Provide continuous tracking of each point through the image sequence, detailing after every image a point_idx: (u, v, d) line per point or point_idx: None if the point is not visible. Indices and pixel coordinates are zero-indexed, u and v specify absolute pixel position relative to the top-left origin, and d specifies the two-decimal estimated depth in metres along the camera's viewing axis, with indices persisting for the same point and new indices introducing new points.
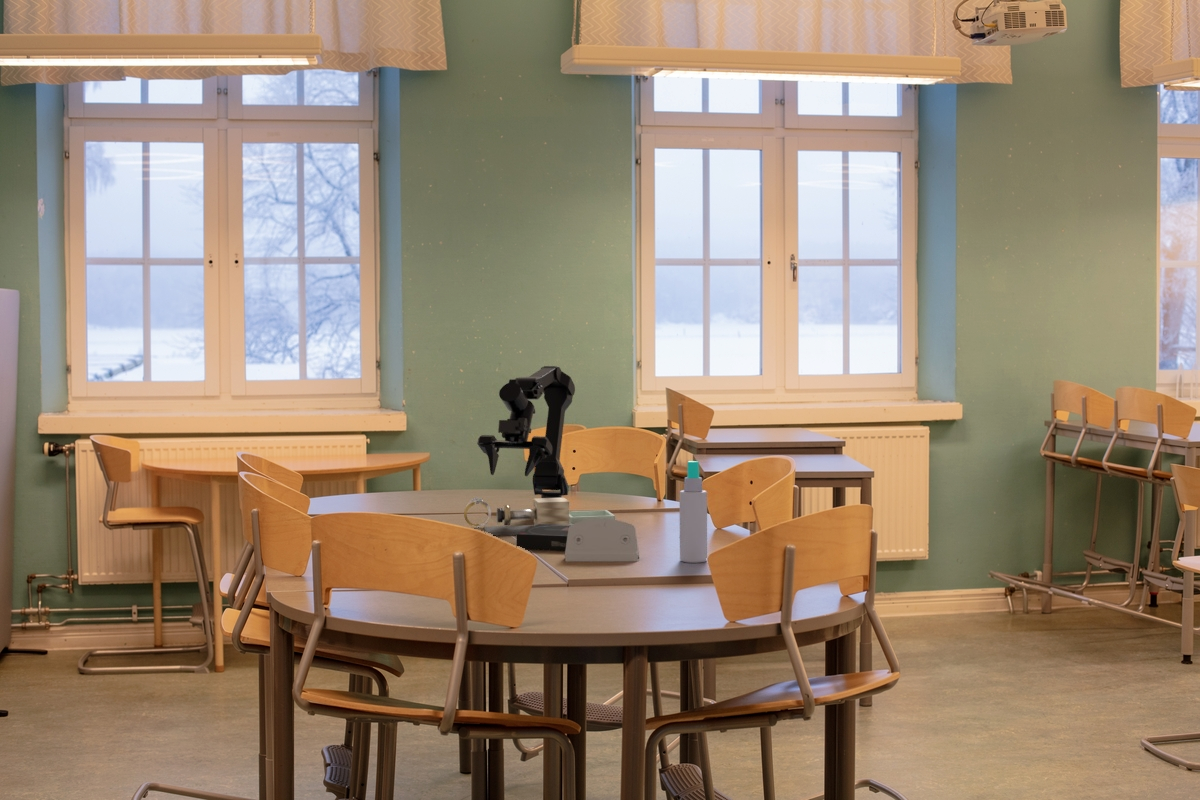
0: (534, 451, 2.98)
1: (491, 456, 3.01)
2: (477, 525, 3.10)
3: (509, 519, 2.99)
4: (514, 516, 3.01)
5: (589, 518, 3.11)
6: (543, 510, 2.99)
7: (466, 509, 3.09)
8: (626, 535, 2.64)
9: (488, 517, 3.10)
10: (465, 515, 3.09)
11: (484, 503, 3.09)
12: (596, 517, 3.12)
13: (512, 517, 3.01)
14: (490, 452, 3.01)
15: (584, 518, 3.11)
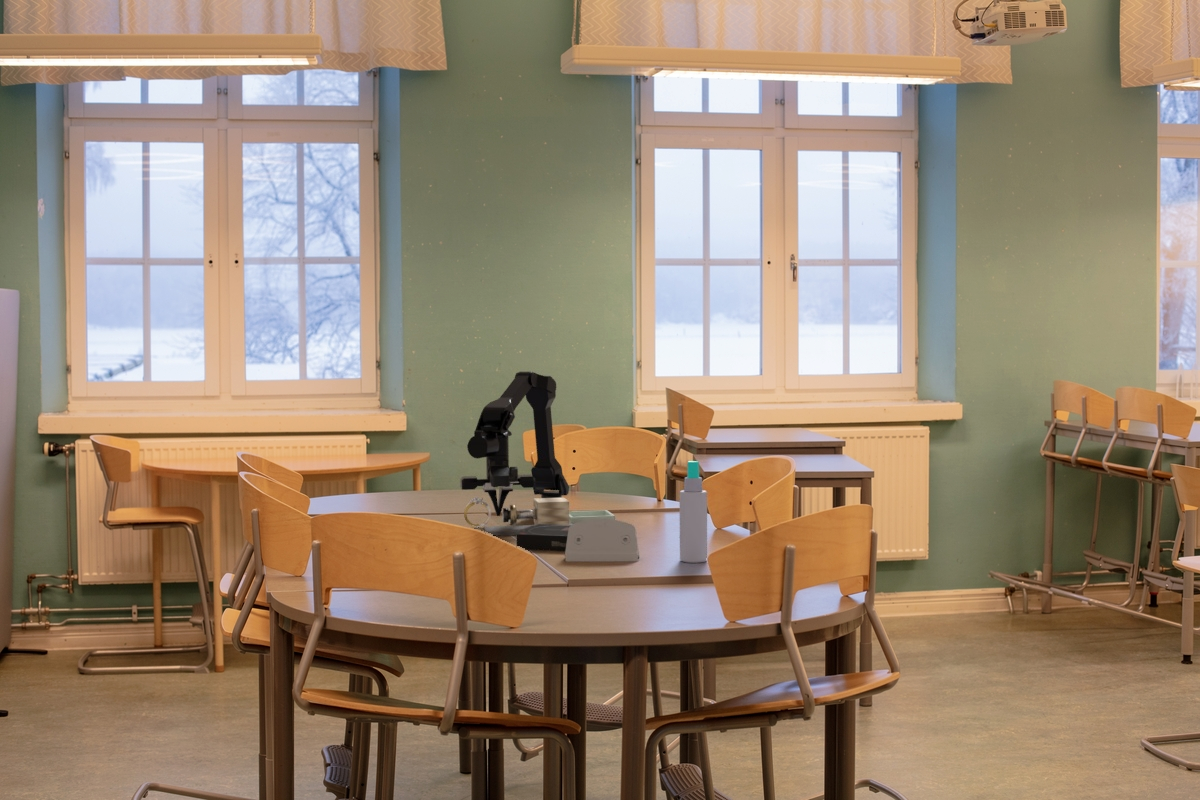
0: (506, 493, 2.99)
1: (494, 498, 3.00)
2: (477, 525, 3.10)
3: (515, 519, 3.00)
4: (520, 516, 3.01)
5: (589, 518, 3.11)
6: (543, 510, 2.99)
7: (466, 509, 3.09)
8: (626, 535, 2.63)
9: (488, 517, 3.10)
10: (465, 515, 3.09)
11: (484, 503, 3.09)
12: (596, 517, 3.12)
13: (518, 517, 3.01)
14: (494, 495, 2.99)
15: (584, 518, 3.11)
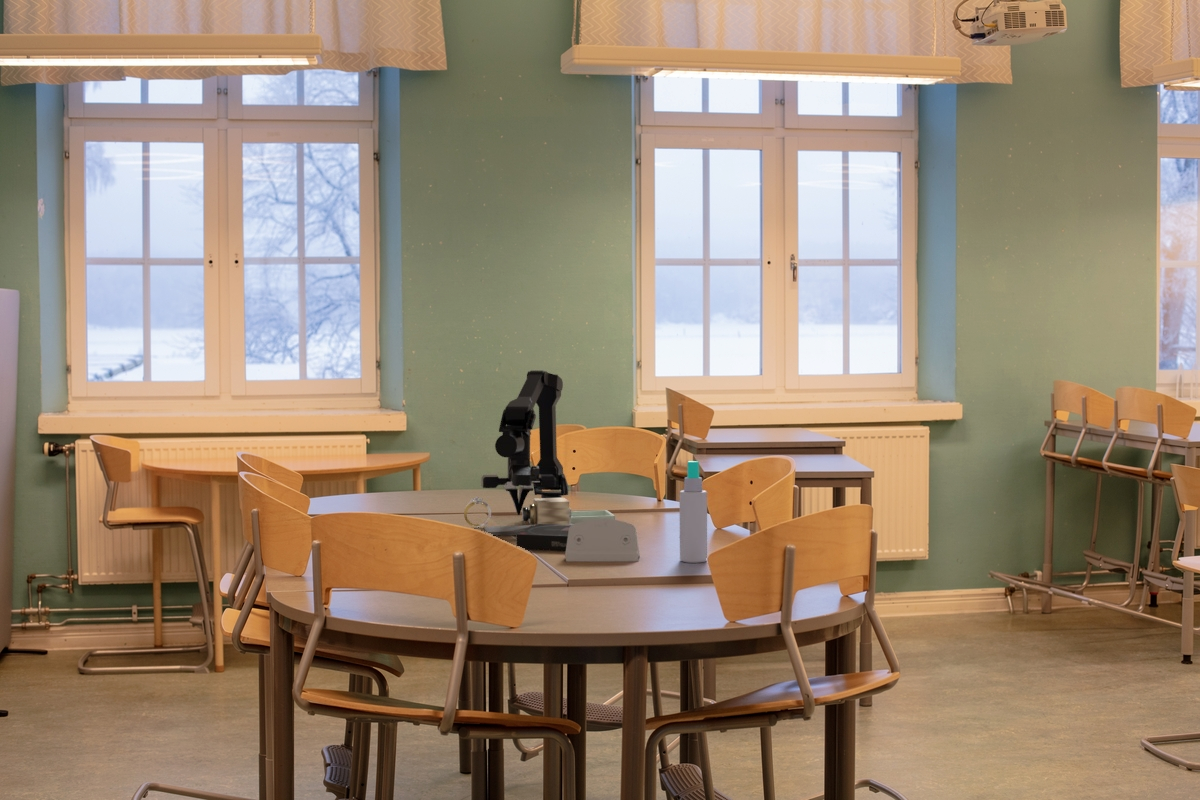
0: (526, 492, 3.00)
1: (515, 497, 3.01)
2: (477, 525, 3.10)
3: (535, 518, 3.00)
4: None
5: (589, 518, 3.11)
6: (543, 510, 2.99)
7: (466, 509, 3.09)
8: (626, 535, 2.63)
9: (488, 517, 3.10)
10: (465, 515, 3.09)
11: (484, 503, 3.09)
12: (596, 517, 3.12)
13: None
14: (515, 494, 3.00)
15: (584, 518, 3.11)
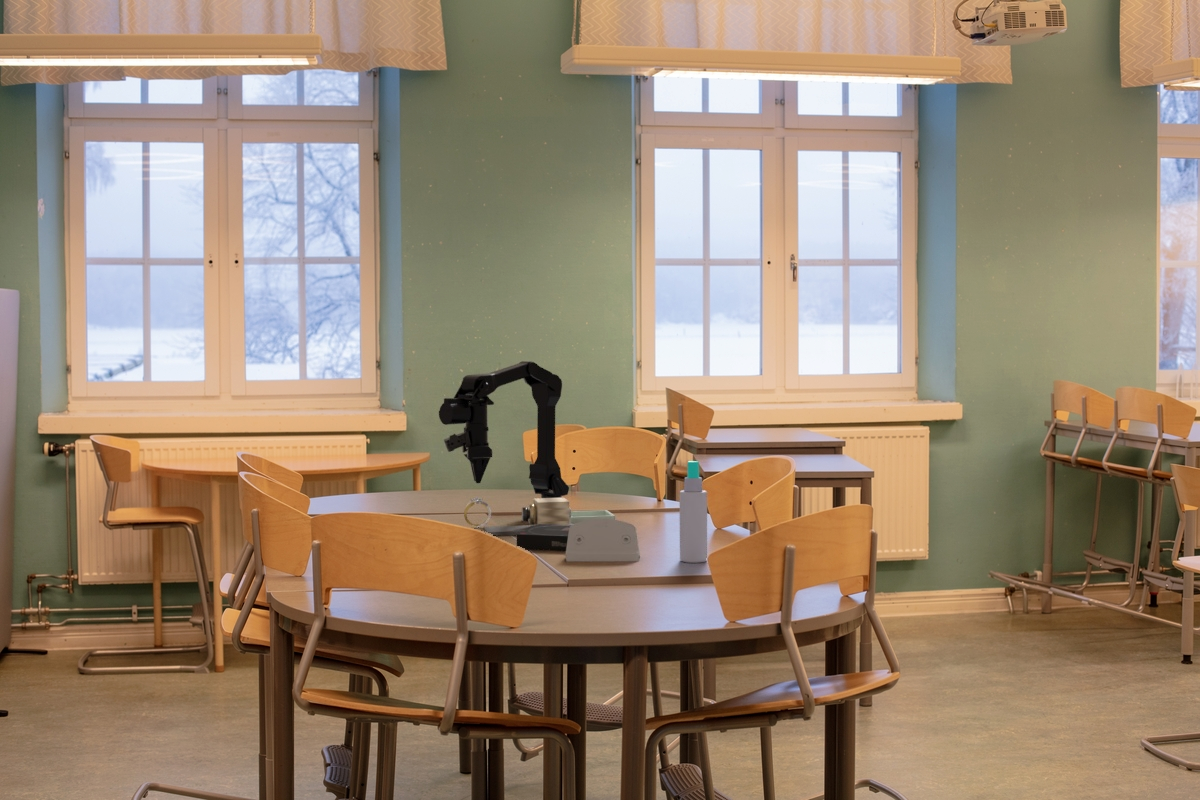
0: (470, 461, 3.05)
1: (471, 463, 3.12)
2: (477, 525, 3.10)
3: (535, 518, 3.00)
4: None
5: (589, 518, 3.11)
6: (543, 510, 2.99)
7: (466, 509, 3.09)
8: (627, 535, 2.64)
9: (488, 517, 3.10)
10: (465, 515, 3.09)
11: (484, 503, 3.09)
12: (596, 517, 3.12)
13: None
14: None
15: (584, 518, 3.11)
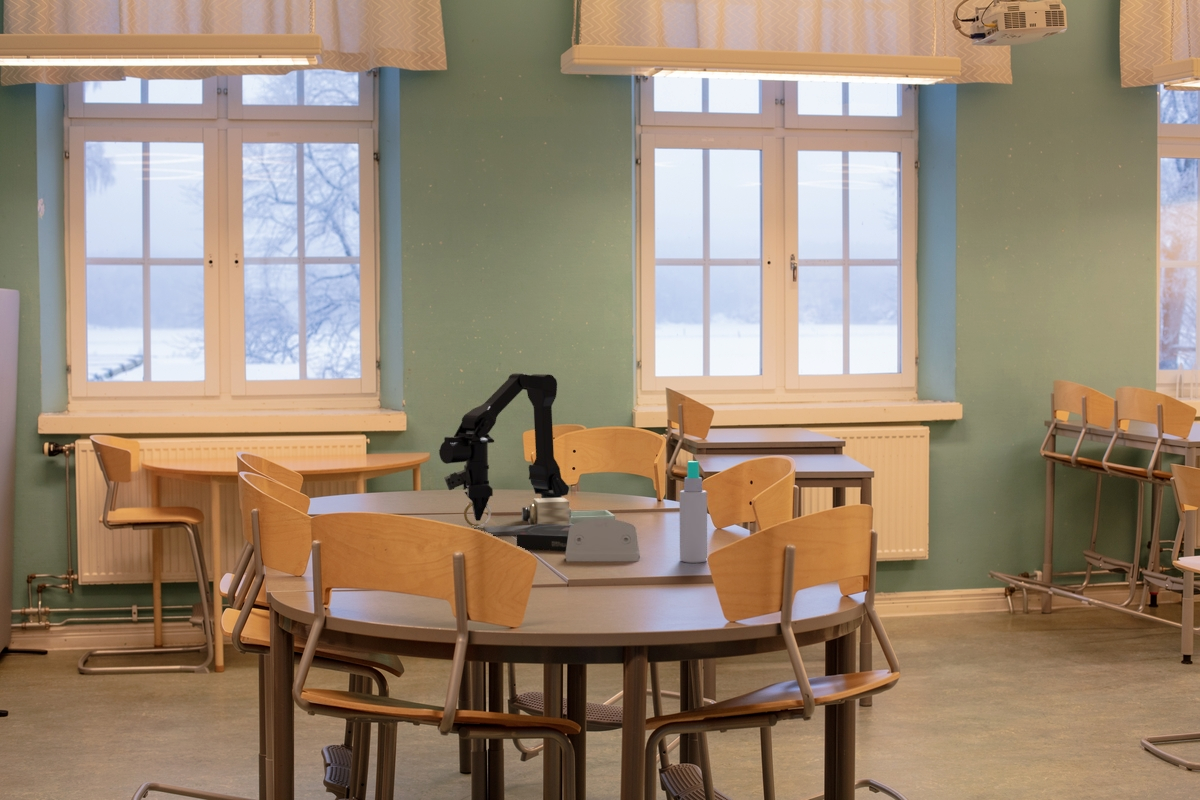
0: (470, 499, 3.06)
1: None
2: (477, 525, 3.10)
3: (535, 518, 3.00)
4: None
5: (589, 518, 3.11)
6: (543, 510, 2.99)
7: (466, 509, 3.09)
8: (627, 535, 2.64)
9: (488, 517, 3.10)
10: (465, 515, 3.09)
11: None
12: (596, 517, 3.12)
13: None
14: None
15: (584, 518, 3.11)
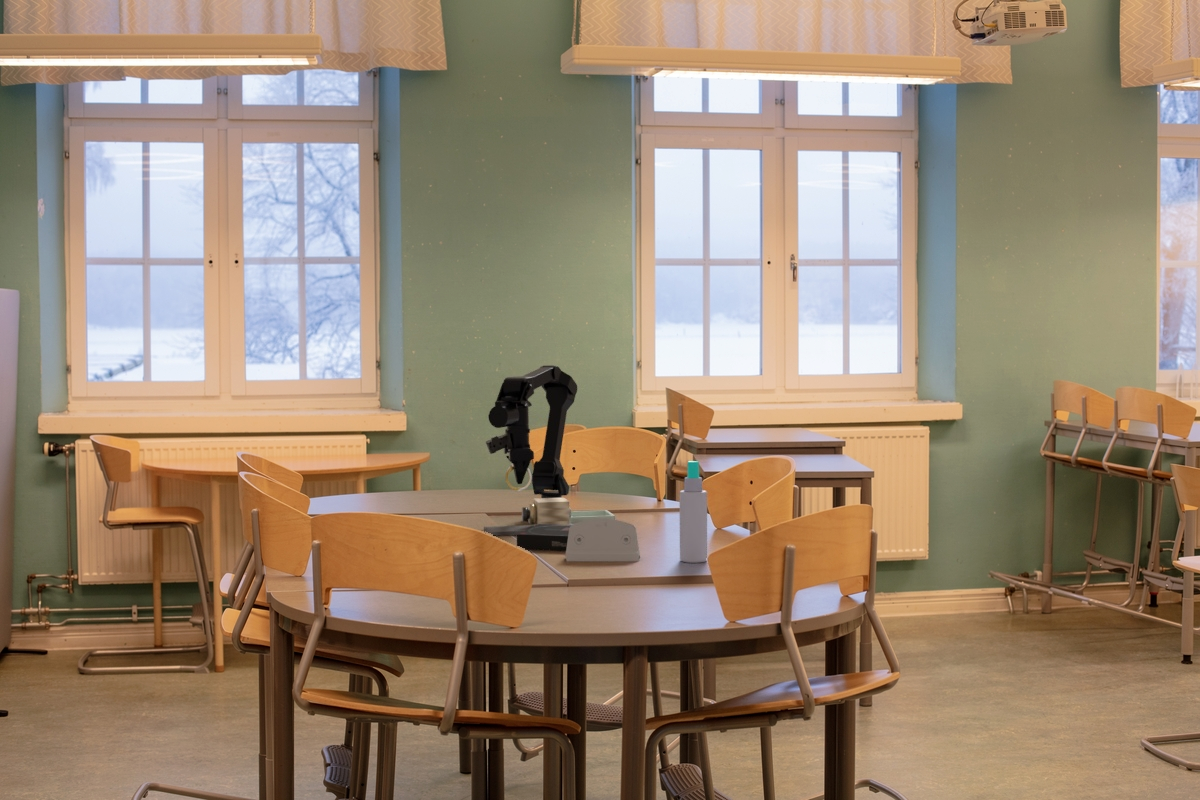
0: (512, 463, 3.09)
1: None
2: (518, 488, 3.12)
3: (535, 518, 3.00)
4: None
5: (589, 518, 3.11)
6: (543, 510, 2.99)
7: (507, 472, 3.11)
8: (627, 535, 2.64)
9: (529, 480, 3.12)
10: (506, 478, 3.12)
11: None
12: (596, 517, 3.12)
13: None
14: None
15: (584, 518, 3.11)
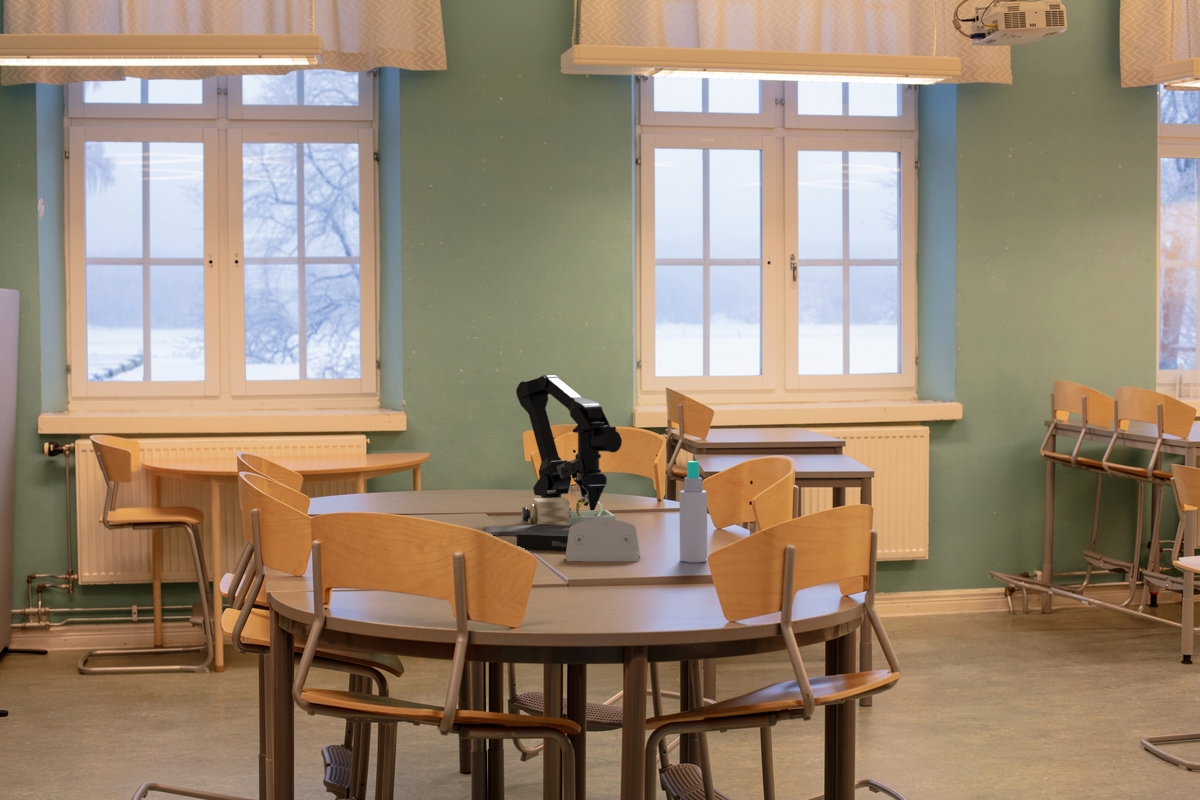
0: (585, 489, 3.10)
1: None
2: None
3: (535, 518, 3.00)
4: None
5: (589, 518, 3.11)
6: (543, 510, 2.99)
7: (578, 506, 3.14)
8: (627, 535, 2.64)
9: (599, 512, 3.16)
10: (577, 511, 3.15)
11: None
12: (596, 517, 3.12)
13: None
14: None
15: (584, 518, 3.11)
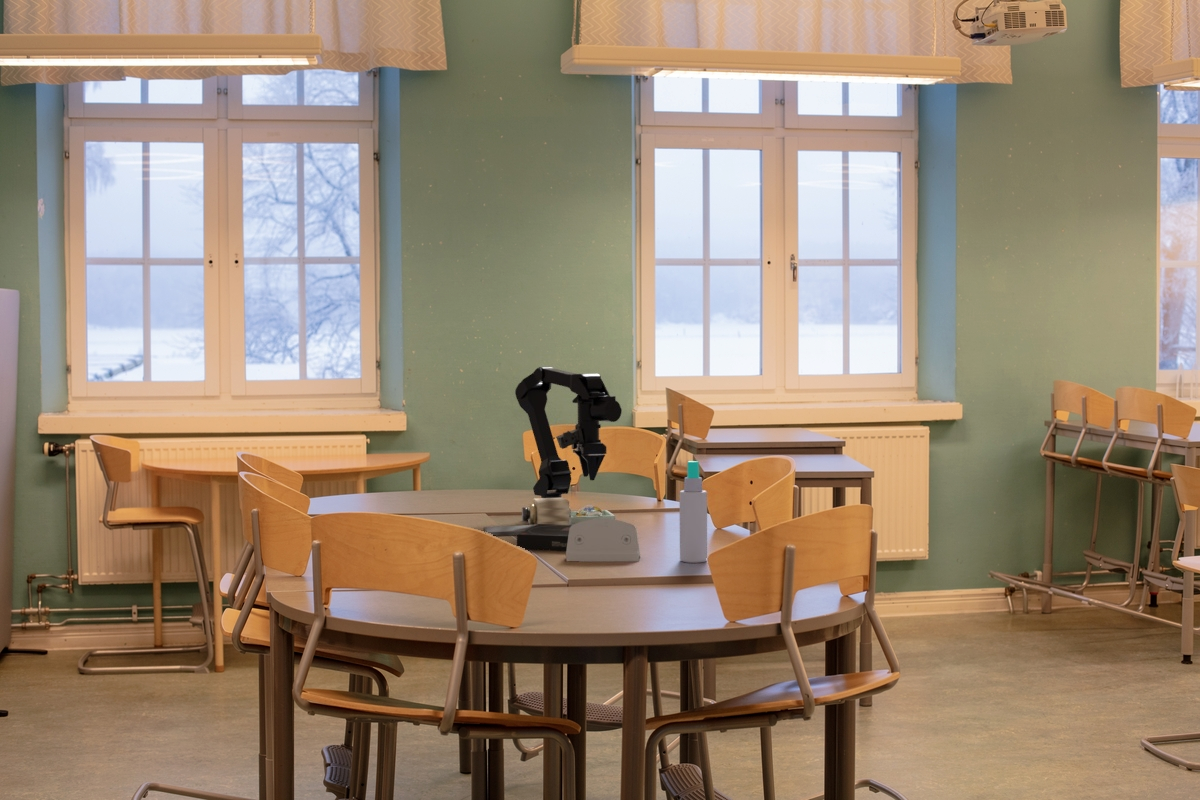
0: (585, 459, 3.10)
1: (580, 459, 3.21)
2: None
3: (535, 518, 3.00)
4: None
5: (589, 518, 3.11)
6: (543, 510, 2.99)
7: (578, 516, 3.12)
8: (627, 535, 2.63)
9: None
10: None
11: (596, 513, 3.11)
12: (596, 517, 3.12)
13: None
14: (578, 456, 3.21)
15: (584, 518, 3.11)
